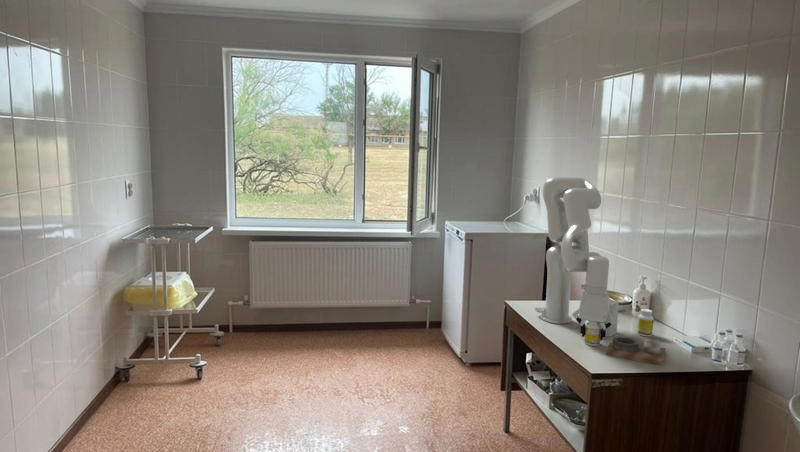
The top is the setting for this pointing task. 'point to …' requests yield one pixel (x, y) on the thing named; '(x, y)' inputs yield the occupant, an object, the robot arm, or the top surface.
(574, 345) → the top surface
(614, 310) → the supplement box
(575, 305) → the top surface
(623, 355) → the carrier plate
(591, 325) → the supplement bottle
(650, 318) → the supplement bottle
